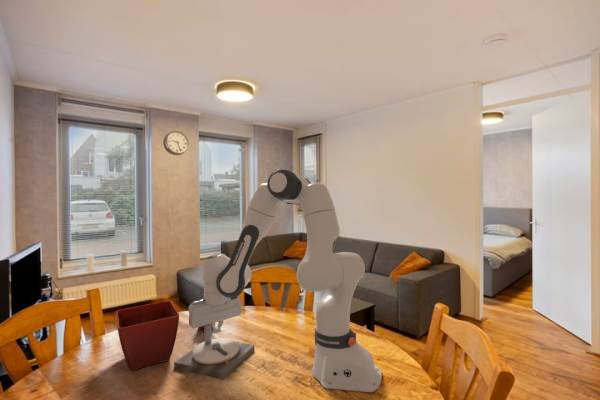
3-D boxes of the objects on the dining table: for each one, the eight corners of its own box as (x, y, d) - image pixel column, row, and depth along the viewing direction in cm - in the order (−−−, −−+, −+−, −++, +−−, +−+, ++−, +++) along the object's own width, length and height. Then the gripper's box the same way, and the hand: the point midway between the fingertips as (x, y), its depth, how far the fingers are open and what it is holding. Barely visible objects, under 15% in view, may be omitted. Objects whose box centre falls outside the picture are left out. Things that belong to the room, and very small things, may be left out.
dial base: (254, 350, 118) (254, 343, 118) (223, 379, 99) (223, 372, 99) (210, 342, 125) (210, 335, 125) (174, 368, 106) (174, 360, 106)
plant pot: (118, 379, 100) (117, 328, 100) (117, 354, 116) (115, 310, 116) (181, 362, 110) (179, 315, 110) (171, 341, 126) (170, 300, 126)
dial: (224, 337, 123) (223, 316, 123) (247, 352, 112) (246, 328, 111) (185, 352, 112) (184, 329, 112) (206, 370, 100) (205, 344, 100)
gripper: (191, 305, 109) (192, 344, 109) (243, 292, 122) (244, 327, 122) (185, 300, 114) (186, 337, 114) (236, 289, 127) (236, 322, 127)
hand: (216, 332), depth 118 cm, fingers closed
